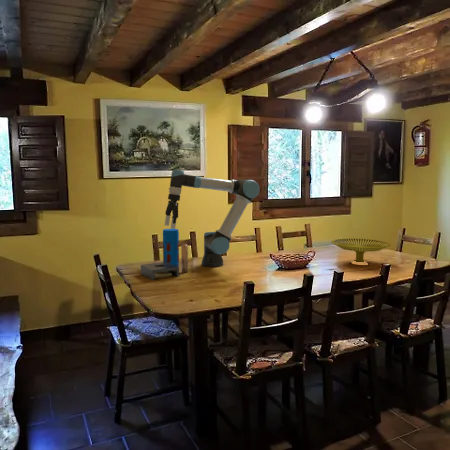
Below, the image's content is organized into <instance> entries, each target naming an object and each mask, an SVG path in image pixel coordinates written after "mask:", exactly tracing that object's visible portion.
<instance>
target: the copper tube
mask: <svg viewBox="0 0 450 450" xmlns="http://www.w3.org/2000/svg"><path fill="white" fill-rule="evenodd" d="M180 247H181V254H180V255H181V273H182V274H187V273H188V272H189V262H188V261H189V260H188V259H189V258H188V257H189V255H188V254H189V253H188V251H189V250H188V249H189V247H188V244H187V243H184V244H181V246H180Z"/></svg>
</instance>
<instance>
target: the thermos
mask: <svg viewBox="0 0 450 450" xmlns="http://www.w3.org/2000/svg"><path fill="white" fill-rule="evenodd" d="M179 234H180V233H179V229H177V228H175V229H172V228H164V229H162V259H163V260H162V262H169V263H171V264H173V265H176V266H178V267H180V263H179V262H180V243H179V242H180V241H179V240H180V235H179Z"/></svg>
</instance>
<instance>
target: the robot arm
mask: <svg viewBox="0 0 450 450" xmlns="http://www.w3.org/2000/svg"><path fill="white" fill-rule="evenodd" d="M182 187H188V188H195V189H204V190H213V191H220V192H221V191H223V192H228V193H229V194H232V195H233V194H234V195H235V197H236V198H235V200H234V202H233V204H232V206H231V207H230V209H229V211H228V213H227V215H226V216H225V218H224V220H223V222H222V223H221V226H220V228H218V229H217V230H215V231H209V232H208V231H206V232H204V235H203V257H202V259H201V266H204V267H211V268H213V267H215V268H217V267H221V266H224V259H223V256H222V255H223V254H225V253H227V252H228V251H229V250H230V243H231V242H232V241H231V240H232V234H233V232H234V231H235V228H236V226H237V224H238V222H239V221H240V220H241V218H242V215H243V214H244V212H245V210H246V208H247V206H248V205H250V204H251V203H252V201H253V200H254V199H255V198H257V196H258V195H259V194H260V185H259V183H258V181H257V182H256V181H255V180H253V179H230V180H229V179H228V180H227V179H220V178H213V177H212V178H211V177H204V176H198V175H194V174H193V175H191V174H185V172H184V170H181V169H176V168H175V169H172V171H171V175H170V182H169V188H168V195H167V199H168V200H167V201H168V203H167V206H166V209H165V221H164V226H167V227H169V225H170V229H176V226H177V219H179V204H180V203H179V201H181V194H182V189H183V188H182ZM171 213H172V215H171ZM171 216H172V217H171ZM170 220H171V221H170ZM170 222H171V223H170Z"/></svg>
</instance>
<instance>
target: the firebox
mask: <svg viewBox="0 0 450 450" xmlns="http://www.w3.org/2000/svg"><path fill="white" fill-rule="evenodd" d="M140 275H142V276H144V277H146V278H147V279H150V281H155V280H156V279H158V278H159V279H160V278H169V277H172V276H175V277H180V266H176V265H173V264H171V263H169V262H163V261H161V262H154V263H153V262H152V263H145V264H140Z"/></svg>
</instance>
